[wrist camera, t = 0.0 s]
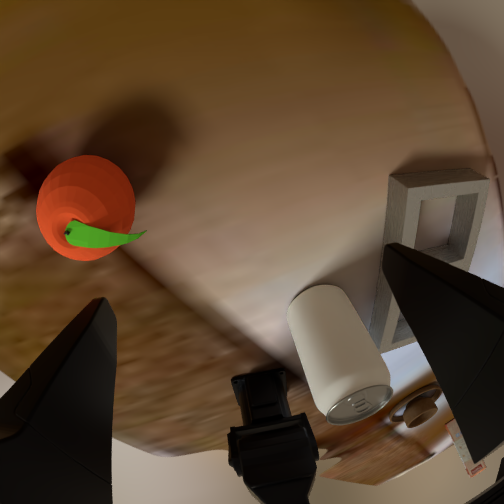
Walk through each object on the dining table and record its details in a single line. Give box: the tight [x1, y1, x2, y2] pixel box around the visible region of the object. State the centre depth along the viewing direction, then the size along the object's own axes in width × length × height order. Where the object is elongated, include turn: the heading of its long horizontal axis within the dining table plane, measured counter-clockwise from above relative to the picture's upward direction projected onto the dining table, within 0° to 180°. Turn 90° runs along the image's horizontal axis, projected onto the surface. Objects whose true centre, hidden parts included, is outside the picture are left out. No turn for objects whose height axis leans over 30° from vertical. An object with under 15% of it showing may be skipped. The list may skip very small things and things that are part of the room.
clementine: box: [36, 155, 147, 261], centre depth 18 cm, size 8×7×7 cm
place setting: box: [389, 385, 442, 428], centre depth 49 cm, size 18×20×6 cm
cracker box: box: [445, 418, 486, 478], centre depth 62 cm, size 14×6×21 cm, turn 38°
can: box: [287, 285, 393, 425], centre depth 26 cm, size 6×6×12 cm
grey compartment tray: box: [369, 168, 490, 354], centre depth 29 cm, size 20×10×3 cm, turn 7°
